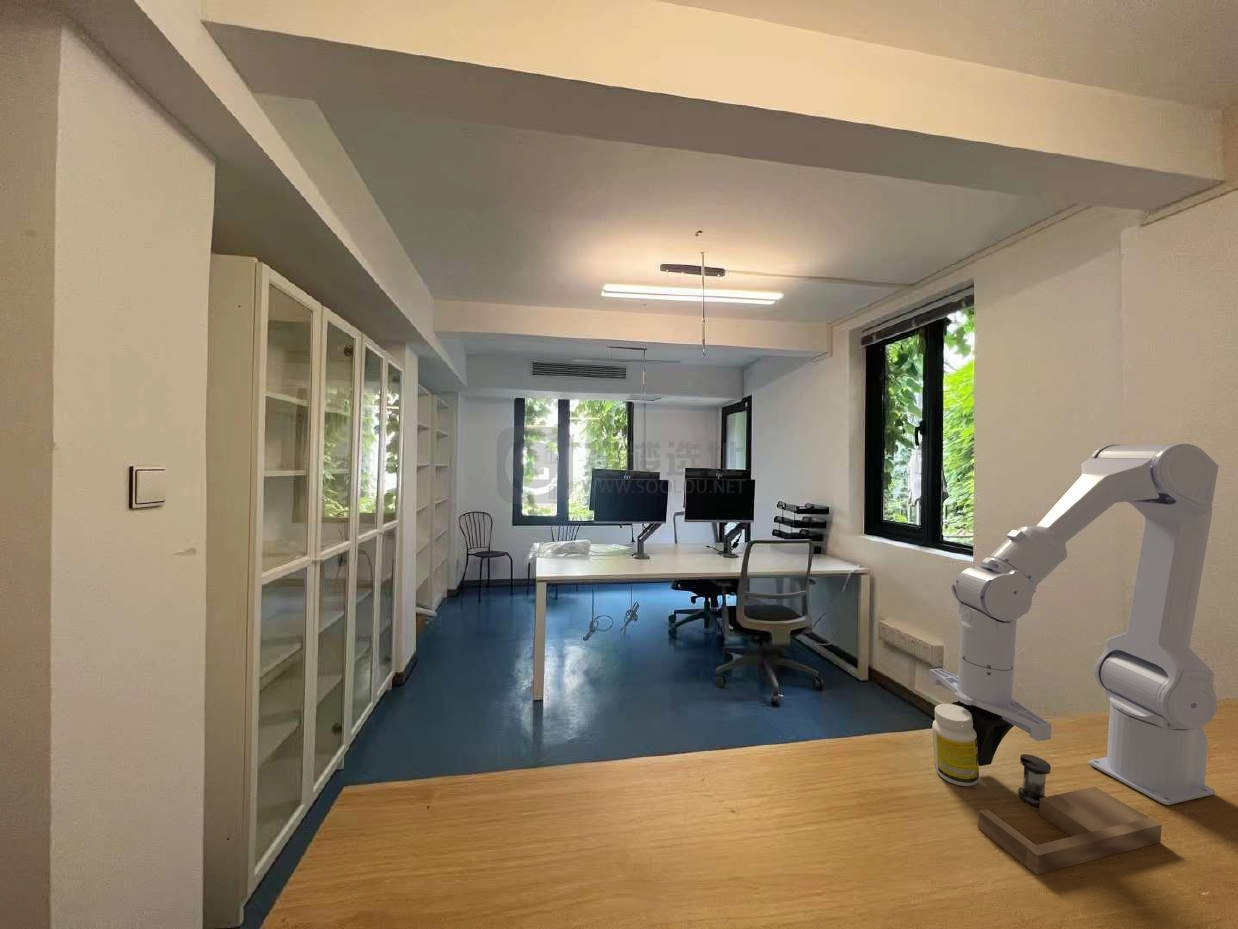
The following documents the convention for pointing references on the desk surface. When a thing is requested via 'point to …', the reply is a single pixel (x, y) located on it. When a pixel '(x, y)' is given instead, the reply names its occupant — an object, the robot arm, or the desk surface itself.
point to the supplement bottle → (955, 745)
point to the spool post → (1033, 779)
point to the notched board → (1076, 830)
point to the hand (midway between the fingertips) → (980, 762)
